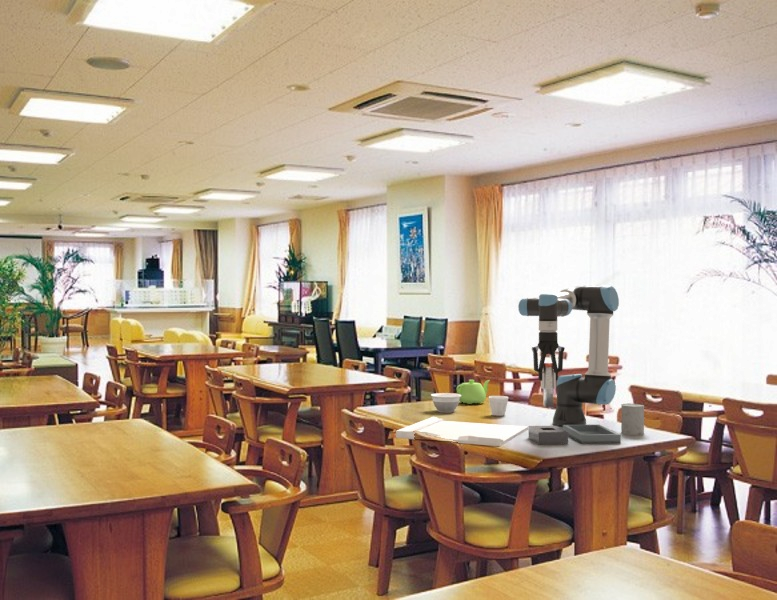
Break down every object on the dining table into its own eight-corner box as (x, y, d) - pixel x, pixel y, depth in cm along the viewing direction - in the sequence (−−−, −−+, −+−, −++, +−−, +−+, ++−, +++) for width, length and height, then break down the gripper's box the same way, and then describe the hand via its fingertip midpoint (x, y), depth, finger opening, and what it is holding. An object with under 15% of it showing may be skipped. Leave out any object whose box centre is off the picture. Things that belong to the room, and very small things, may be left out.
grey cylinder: (645, 435, 340) (645, 406, 340) (622, 434, 342) (622, 406, 342) (642, 431, 349) (642, 403, 349) (620, 431, 351) (620, 403, 351)
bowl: (467, 411, 411) (467, 395, 411) (445, 414, 401) (445, 397, 401) (446, 408, 423) (446, 392, 423) (424, 411, 413) (424, 394, 413)
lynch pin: (542, 405, 328) (542, 363, 328) (551, 405, 329) (551, 363, 329) (544, 406, 324) (544, 363, 324) (554, 406, 325) (554, 363, 325)
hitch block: (528, 437, 334) (528, 425, 334) (556, 437, 335) (556, 425, 335) (538, 444, 318) (538, 432, 318) (568, 444, 319) (568, 432, 319)
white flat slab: (528, 430, 356) (528, 422, 356) (500, 447, 315) (500, 438, 315) (434, 423, 375) (434, 416, 375) (396, 439, 334) (396, 430, 334)
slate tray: (562, 432, 346) (562, 424, 346) (598, 432, 348) (598, 424, 347) (581, 443, 320) (581, 435, 320) (620, 443, 322) (620, 434, 322)
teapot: (483, 400, 456) (483, 377, 456) (497, 403, 442) (497, 380, 442) (449, 402, 447) (449, 379, 447) (462, 405, 433) (462, 381, 433)
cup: (506, 417, 392) (506, 398, 391) (486, 416, 395) (486, 397, 395) (510, 414, 401) (510, 396, 401) (490, 413, 404) (490, 395, 404)
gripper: (529, 332, 322) (530, 389, 322) (571, 331, 323) (571, 389, 323) (525, 331, 329) (525, 387, 330) (565, 330, 331) (565, 387, 331)
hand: (548, 388), depth 327 cm, fingers closed on lynch pin, 4 cm apart
